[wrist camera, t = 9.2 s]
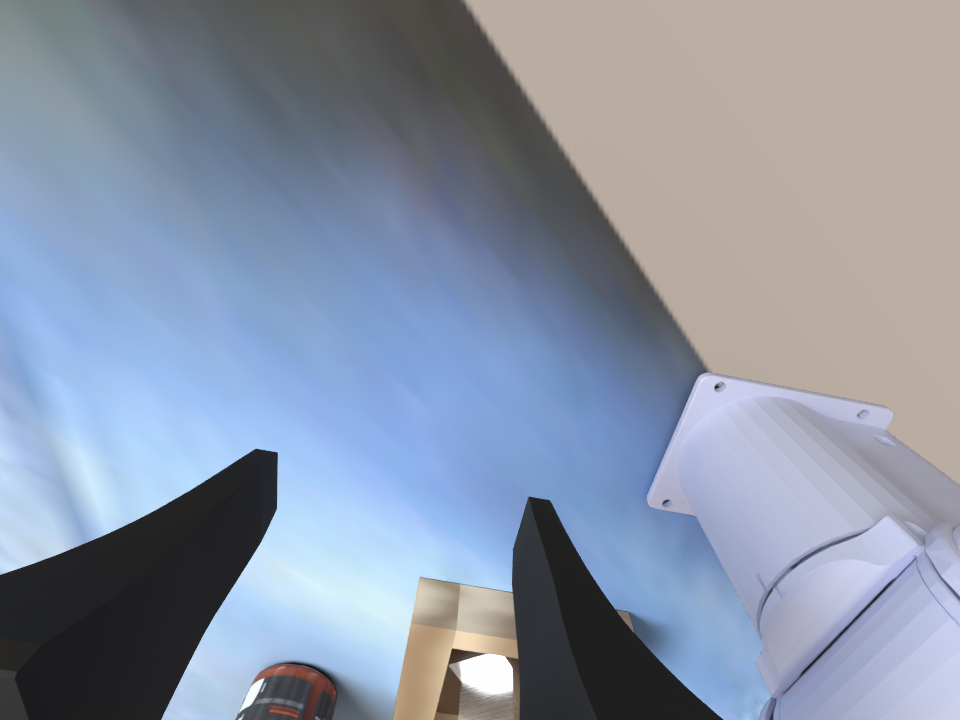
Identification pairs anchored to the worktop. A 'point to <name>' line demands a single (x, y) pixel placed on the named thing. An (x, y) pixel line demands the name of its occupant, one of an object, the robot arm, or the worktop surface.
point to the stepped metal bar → (486, 685)
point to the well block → (452, 644)
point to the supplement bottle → (289, 695)
